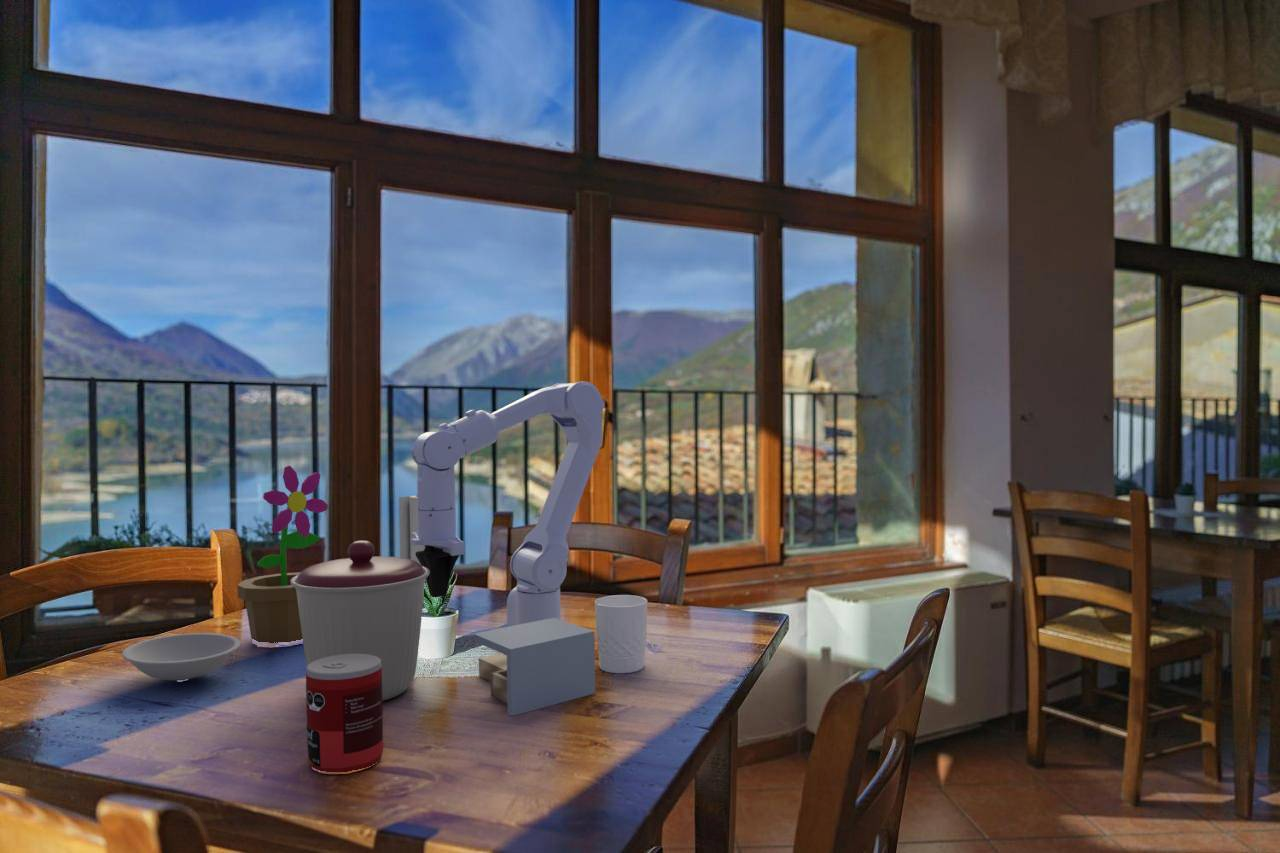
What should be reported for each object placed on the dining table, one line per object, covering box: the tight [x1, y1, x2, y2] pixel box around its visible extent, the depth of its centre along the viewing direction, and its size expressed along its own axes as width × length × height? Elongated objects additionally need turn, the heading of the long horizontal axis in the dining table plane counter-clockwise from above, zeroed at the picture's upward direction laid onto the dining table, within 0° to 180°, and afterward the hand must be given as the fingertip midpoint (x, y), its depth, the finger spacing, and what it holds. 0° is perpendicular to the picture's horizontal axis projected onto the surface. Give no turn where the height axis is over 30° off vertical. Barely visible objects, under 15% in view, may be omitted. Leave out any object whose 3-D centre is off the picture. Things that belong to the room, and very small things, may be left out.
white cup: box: [594, 594, 648, 674], centre depth 126 cm, size 8×8×10 cm
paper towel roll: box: [398, 494, 427, 582], centre depth 175 cm, size 7×6×21 cm
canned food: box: [305, 654, 384, 772], centre depth 93 cm, size 8×8×11 cm
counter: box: [472, 618, 596, 717], centre depth 114 cm, size 10×13×8 cm
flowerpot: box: [237, 465, 329, 643], centre depth 144 cm, size 14×14×30 cm
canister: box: [290, 540, 430, 702], centre depth 116 cm, size 18×18×21 cm
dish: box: [121, 632, 241, 681], centre depth 122 cm, size 18×14×5 cm
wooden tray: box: [478, 652, 508, 704], centre depth 118 cm, size 16×9×4 cm, turn 39°
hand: (438, 595), depth 131 cm, fingers closed
